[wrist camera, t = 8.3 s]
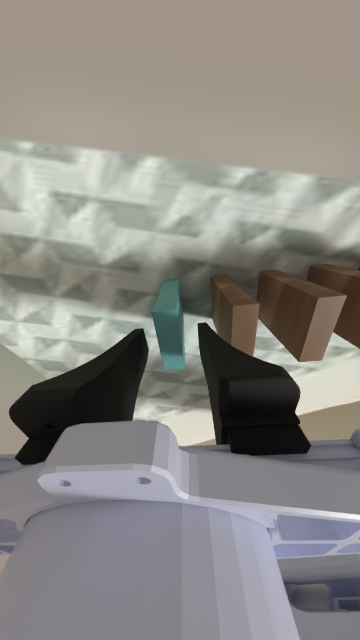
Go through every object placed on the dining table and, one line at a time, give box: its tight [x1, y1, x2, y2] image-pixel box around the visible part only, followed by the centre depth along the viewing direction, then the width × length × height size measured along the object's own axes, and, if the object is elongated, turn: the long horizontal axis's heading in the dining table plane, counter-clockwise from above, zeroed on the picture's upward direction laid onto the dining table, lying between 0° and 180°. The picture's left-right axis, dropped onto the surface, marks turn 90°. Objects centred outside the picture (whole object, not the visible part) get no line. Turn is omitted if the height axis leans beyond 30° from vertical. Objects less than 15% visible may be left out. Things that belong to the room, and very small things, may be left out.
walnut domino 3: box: [307, 264, 360, 349], centre depth 14 cm, size 2×5×8 cm, turn 7°
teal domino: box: [152, 279, 185, 371], centre depth 15 cm, size 2×5×8 cm, turn 7°
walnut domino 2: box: [257, 270, 347, 362], centre depth 14 cm, size 2×5×8 cm, turn 7°
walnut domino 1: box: [211, 275, 260, 356], centre depth 14 cm, size 2×5×8 cm, turn 6°
